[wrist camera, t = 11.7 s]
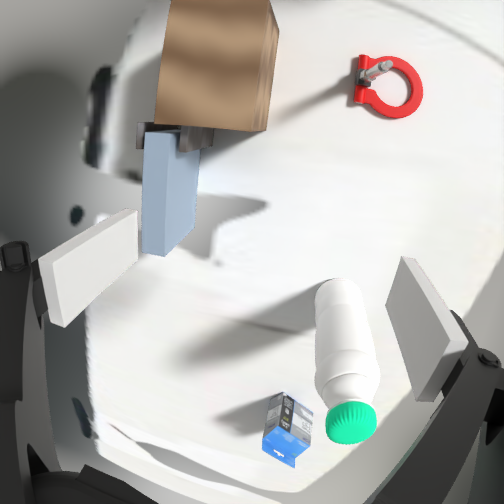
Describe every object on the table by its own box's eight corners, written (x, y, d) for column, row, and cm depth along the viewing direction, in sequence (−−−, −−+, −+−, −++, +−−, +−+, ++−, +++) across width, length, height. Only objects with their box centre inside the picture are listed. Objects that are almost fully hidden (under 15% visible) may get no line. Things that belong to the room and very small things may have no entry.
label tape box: (314, 412, 58) (311, 462, 46) (298, 420, 59) (293, 469, 48) (283, 390, 56) (276, 442, 45) (268, 399, 58) (259, 449, 46)
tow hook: (422, 67, 33) (358, 49, 34) (468, 52, 21) (384, 22, 22) (415, 124, 36) (350, 108, 37) (461, 129, 25) (376, 103, 25)
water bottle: (345, 323, 49) (359, 459, 26) (306, 306, 48) (298, 443, 26) (369, 287, 46) (405, 420, 23) (328, 268, 46) (340, 401, 23)
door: (181, 129, 41) (144, 132, 31) (202, 130, 41) (170, 133, 31) (175, 224, 47) (141, 252, 37) (194, 227, 47) (164, 256, 37)
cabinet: (184, 28, 36) (145, 2, 25) (279, 31, 34) (268, -2, 23) (170, 142, 42) (127, 150, 31) (263, 152, 41) (246, 162, 30)
